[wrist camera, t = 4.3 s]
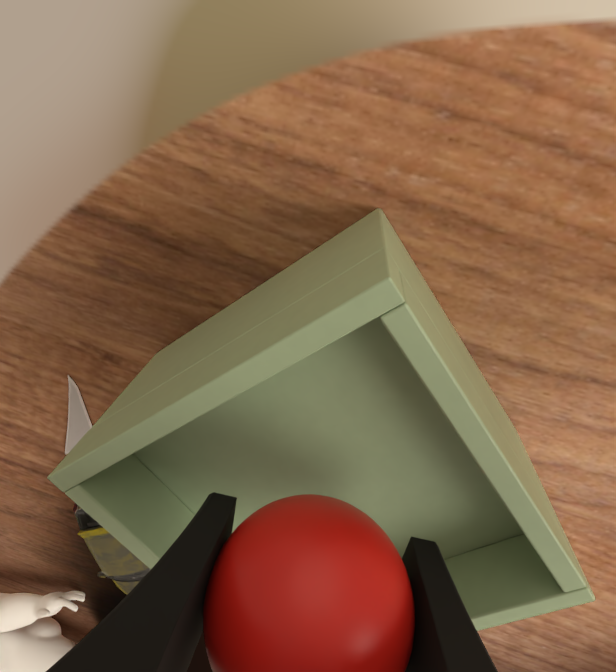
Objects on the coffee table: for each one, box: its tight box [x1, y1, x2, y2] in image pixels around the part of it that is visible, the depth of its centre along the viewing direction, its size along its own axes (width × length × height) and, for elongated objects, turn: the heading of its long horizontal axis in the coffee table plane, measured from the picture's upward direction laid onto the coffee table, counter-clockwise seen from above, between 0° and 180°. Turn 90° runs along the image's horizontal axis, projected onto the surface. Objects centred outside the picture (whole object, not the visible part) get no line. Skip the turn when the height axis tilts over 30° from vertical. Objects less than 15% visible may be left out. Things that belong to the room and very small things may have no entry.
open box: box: [48, 208, 595, 631], centre depth 14 cm, size 10×10×7 cm
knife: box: [65, 375, 92, 455], centre depth 21 cm, size 10×2×1 cm, turn 4°
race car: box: [73, 503, 151, 595], centre depth 21 cm, size 4×8×2 cm, turn 10°
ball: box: [203, 494, 415, 672], centre depth 10 cm, size 5×5×5 cm
